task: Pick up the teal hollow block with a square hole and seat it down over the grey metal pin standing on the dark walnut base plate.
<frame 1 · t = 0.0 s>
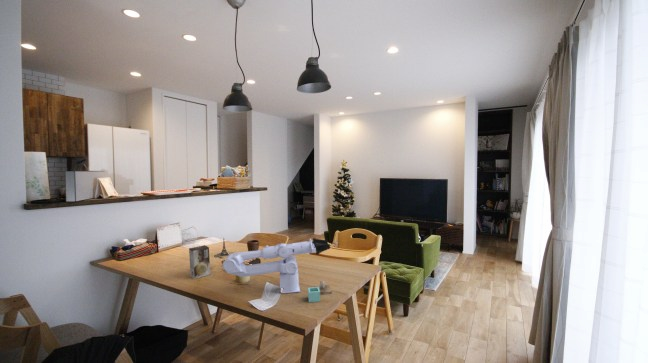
hand: (328, 244, 144), 22 cm above the table, tool horizontal, fingers open, 7 cm apart
eiffel tower figurine: (224, 255, 203), on the table
teal hollow block: (314, 299, 131), on the table
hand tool: (248, 269, 174), on the table
coffee box: (200, 275, 164), on the table
pin plate: (322, 290, 141), on the table
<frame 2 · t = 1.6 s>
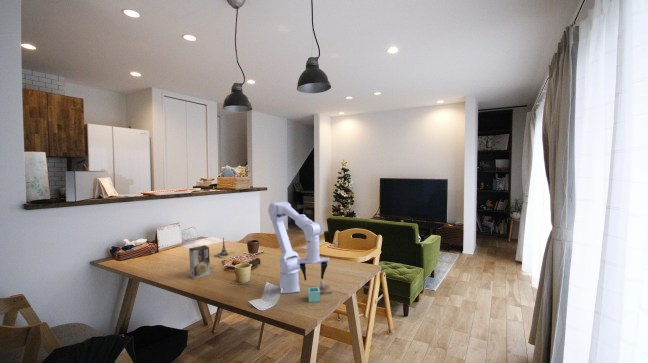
hand: (313, 279, 131), 9 cm above the table, tool pointing down, fingers open, 7 cm apart
nothing on the table moved.
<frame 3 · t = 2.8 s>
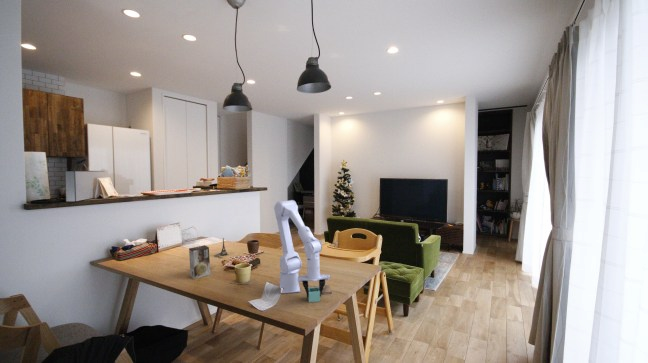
hand: (313, 296, 131), 1 cm above the table, tool pointing down, fingers closed on teal hollow block, 5 cm apart
teal hollow block: (314, 299, 131), on the table, touching gripper
everything else where it was.
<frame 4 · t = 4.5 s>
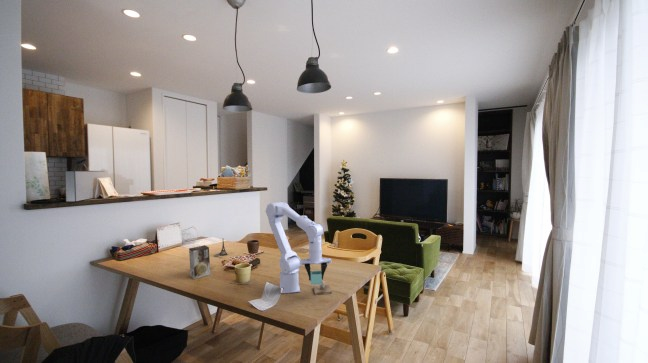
hand: (315, 279, 133), 8 cm above the table, tool pointing down, fingers closed on teal hollow block, 5 cm apart
teal hollow block: (316, 282, 133), point 7 cm above the table, touching gripper
everything else where it was.
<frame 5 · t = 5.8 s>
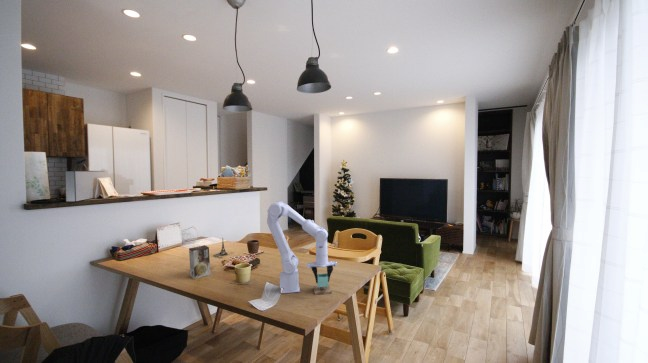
hand: (322, 281, 140), 5 cm above the table, tool pointing down, fingers closed on teal hollow block, 5 cm apart
teal hollow block: (322, 284, 140), point 3 cm above the table, touching gripper
everything else where it was.
when the fingers open (4 cm above the table, at t = 6.5 s): teal hollow block drops 1 cm, resting on pin plate.
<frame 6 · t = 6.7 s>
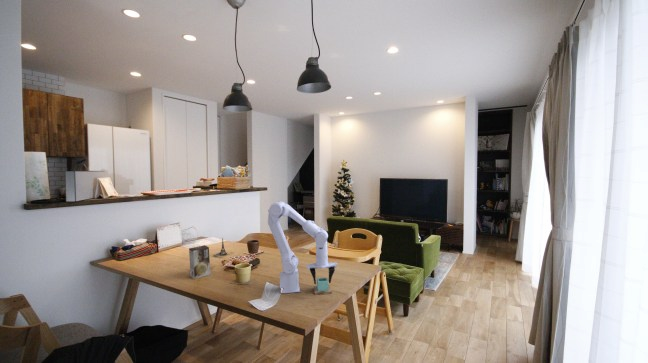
hand: (322, 282, 140), 4 cm above the table, tool pointing down, fingers open, 7 cm apart
teal hollow block: (322, 288, 140), point 1 cm above the table, touching pin plate
everything else where it was.
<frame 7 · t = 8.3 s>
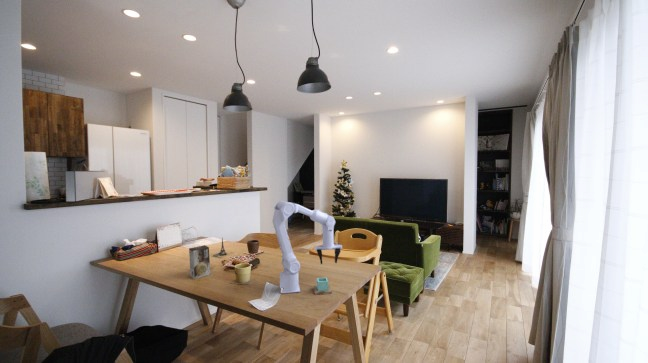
hand: (328, 263, 152), 9 cm above the table, tool pointing down, fingers open, 7 cm apart
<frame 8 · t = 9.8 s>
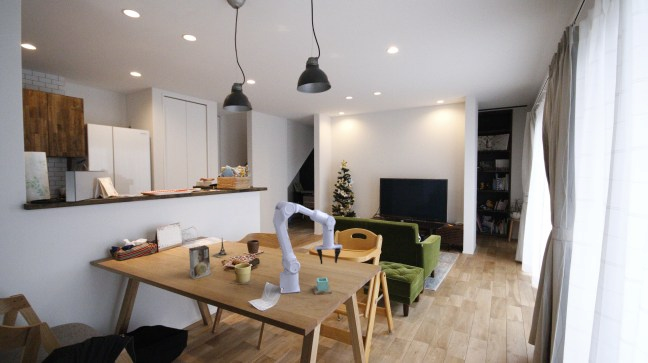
hand: (328, 263, 153), 9 cm above the table, tool pointing down, fingers open, 7 cm apart
at the end: teal hollow block 0.1 cm off-centre on the pin plate, point 1.0 cm above the pin plate's base; teal hollow block tilted 0°; the gripper is holding nothing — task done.
